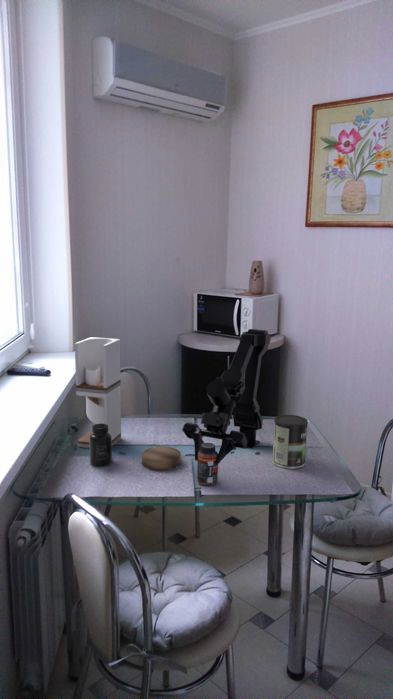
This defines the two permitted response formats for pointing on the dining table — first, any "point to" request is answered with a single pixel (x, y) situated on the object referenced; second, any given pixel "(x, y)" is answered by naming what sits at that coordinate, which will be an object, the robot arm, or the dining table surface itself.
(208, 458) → the supplement bottle
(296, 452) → the coffee can
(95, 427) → the supplement bottle
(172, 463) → the walnut stand
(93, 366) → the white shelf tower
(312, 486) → the dining table surface
